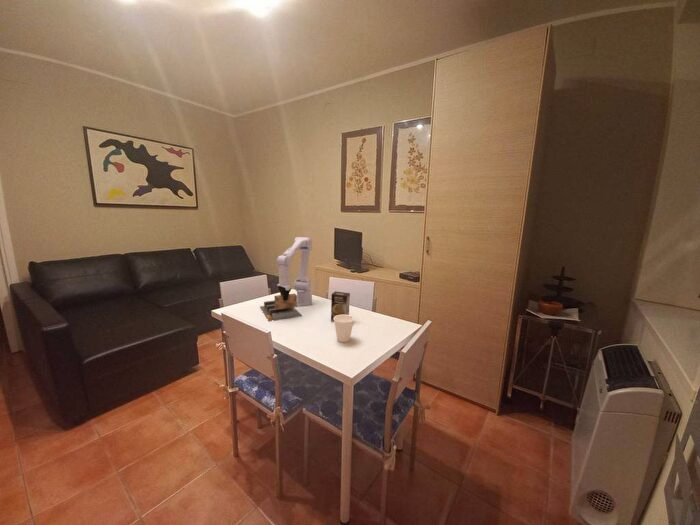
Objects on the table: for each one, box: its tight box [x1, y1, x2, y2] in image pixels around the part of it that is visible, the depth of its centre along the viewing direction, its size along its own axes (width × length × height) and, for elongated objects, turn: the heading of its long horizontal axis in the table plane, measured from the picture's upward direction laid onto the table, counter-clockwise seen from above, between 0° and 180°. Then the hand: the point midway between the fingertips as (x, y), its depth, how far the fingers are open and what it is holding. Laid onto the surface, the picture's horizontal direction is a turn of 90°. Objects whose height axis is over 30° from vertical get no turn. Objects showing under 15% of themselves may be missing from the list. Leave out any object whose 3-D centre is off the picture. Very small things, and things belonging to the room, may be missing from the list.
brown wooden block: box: [274, 293, 298, 310], centre depth 161 cm, size 12×4×7 cm, turn 118°
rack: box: [259, 299, 302, 322], centre depth 168 cm, size 19×25×3 cm
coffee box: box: [330, 291, 351, 322], centre depth 156 cm, size 9×6×16 cm
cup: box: [333, 314, 355, 343], centre depth 133 cm, size 10×10×11 cm
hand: (284, 299), depth 161 cm, fingers closed on brown wooden block, 4 cm apart
